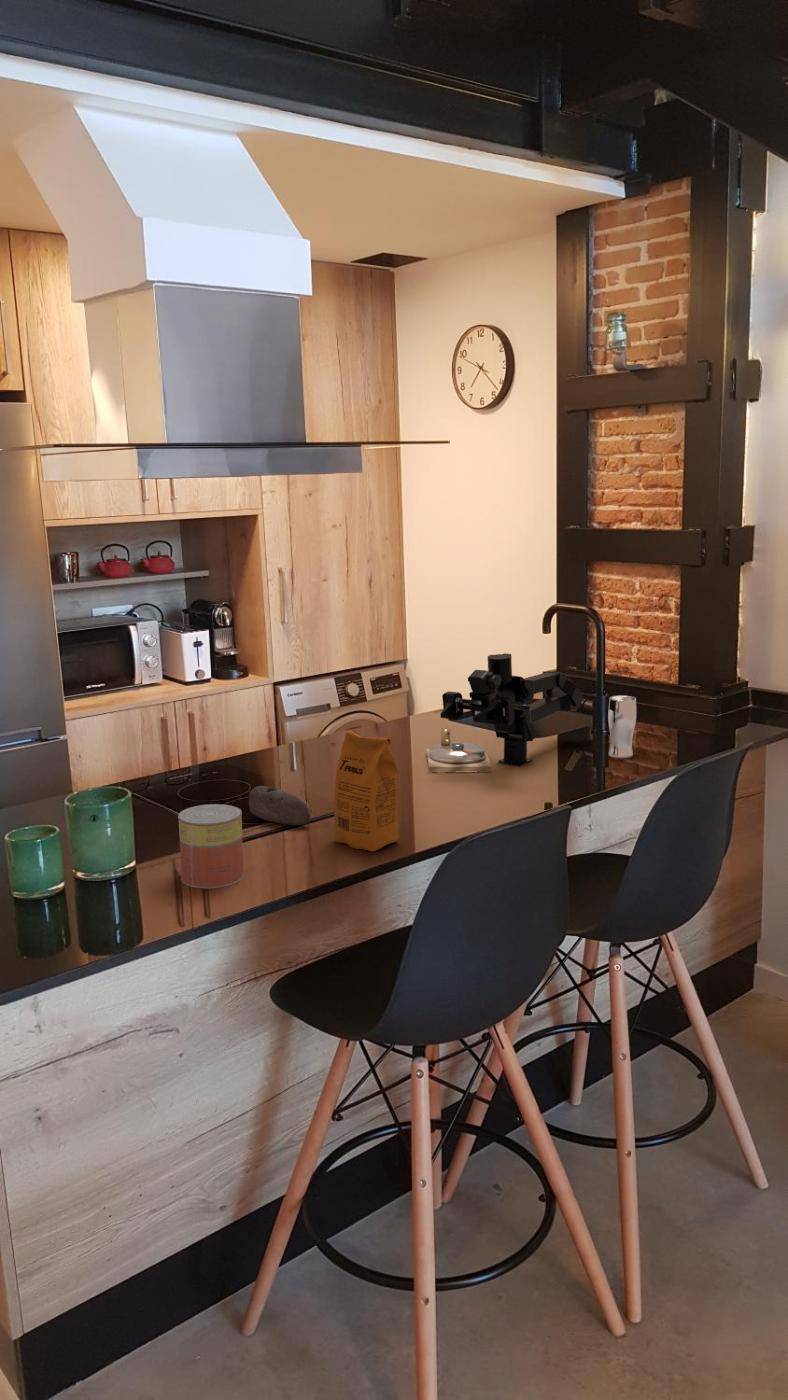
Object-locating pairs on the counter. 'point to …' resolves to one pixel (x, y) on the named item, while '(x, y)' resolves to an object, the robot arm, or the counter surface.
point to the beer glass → (621, 725)
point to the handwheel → (456, 750)
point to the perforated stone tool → (278, 806)
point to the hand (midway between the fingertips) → (457, 717)
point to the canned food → (211, 846)
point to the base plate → (458, 765)
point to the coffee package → (366, 793)
